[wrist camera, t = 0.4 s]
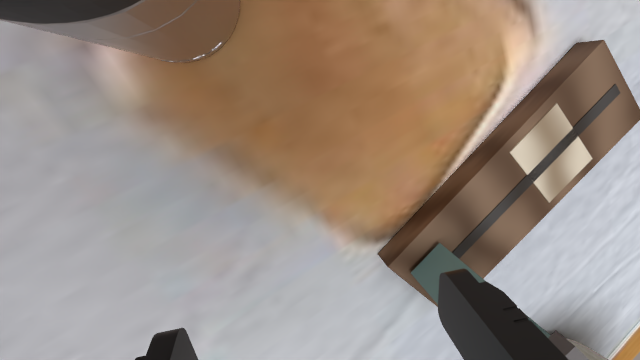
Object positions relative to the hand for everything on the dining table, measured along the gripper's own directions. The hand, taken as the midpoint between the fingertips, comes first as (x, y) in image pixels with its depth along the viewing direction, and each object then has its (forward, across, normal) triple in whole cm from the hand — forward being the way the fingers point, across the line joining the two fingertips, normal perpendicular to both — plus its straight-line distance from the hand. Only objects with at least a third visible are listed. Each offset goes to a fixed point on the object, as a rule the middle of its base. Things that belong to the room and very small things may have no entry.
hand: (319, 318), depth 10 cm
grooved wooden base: (+20, -22, +8) cm, 30 cm away
